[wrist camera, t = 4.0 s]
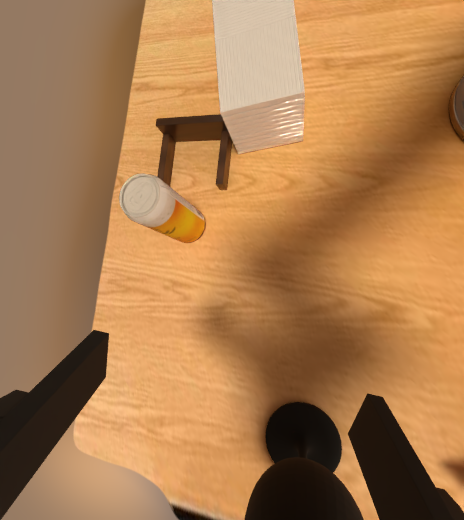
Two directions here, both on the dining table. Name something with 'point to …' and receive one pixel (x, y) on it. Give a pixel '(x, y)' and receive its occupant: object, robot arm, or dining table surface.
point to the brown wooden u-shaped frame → (194, 131)
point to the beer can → (160, 208)
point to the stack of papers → (259, 72)
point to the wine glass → (302, 469)
